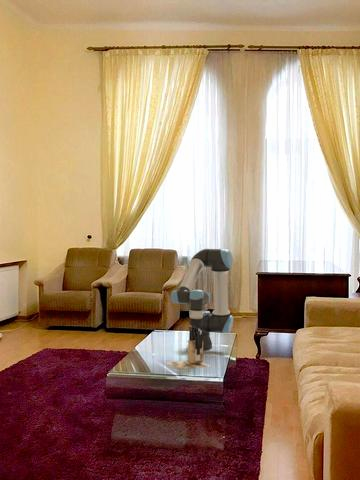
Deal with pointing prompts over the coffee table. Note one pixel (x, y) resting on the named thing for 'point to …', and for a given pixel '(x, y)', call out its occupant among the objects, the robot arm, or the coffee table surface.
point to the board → (186, 365)
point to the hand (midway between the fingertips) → (195, 359)
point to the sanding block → (192, 352)
